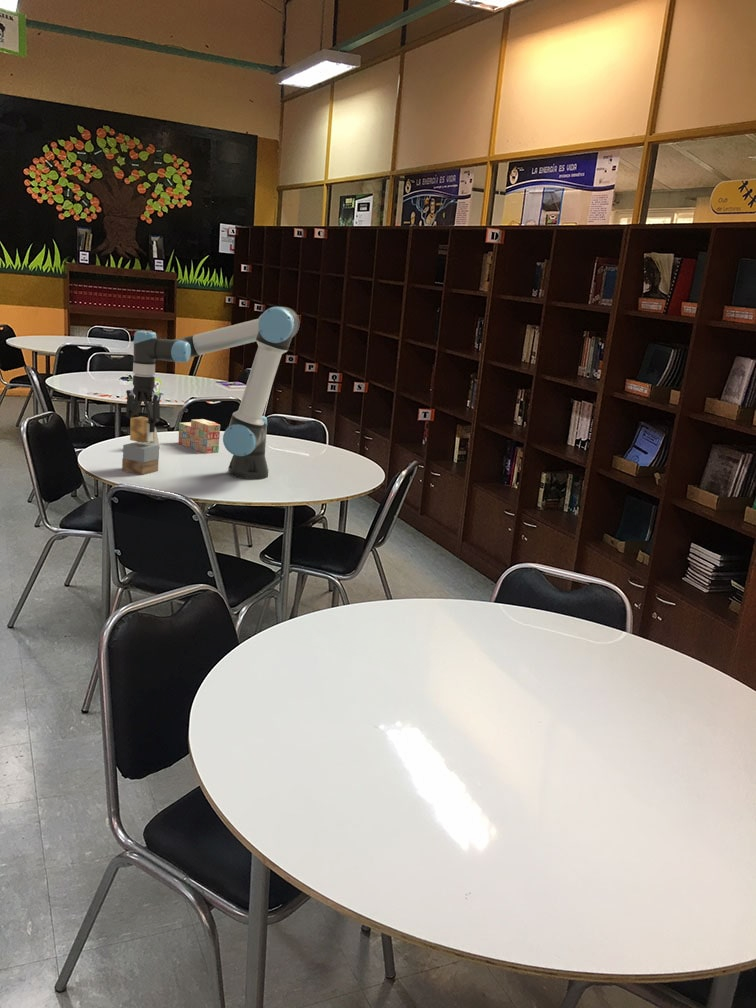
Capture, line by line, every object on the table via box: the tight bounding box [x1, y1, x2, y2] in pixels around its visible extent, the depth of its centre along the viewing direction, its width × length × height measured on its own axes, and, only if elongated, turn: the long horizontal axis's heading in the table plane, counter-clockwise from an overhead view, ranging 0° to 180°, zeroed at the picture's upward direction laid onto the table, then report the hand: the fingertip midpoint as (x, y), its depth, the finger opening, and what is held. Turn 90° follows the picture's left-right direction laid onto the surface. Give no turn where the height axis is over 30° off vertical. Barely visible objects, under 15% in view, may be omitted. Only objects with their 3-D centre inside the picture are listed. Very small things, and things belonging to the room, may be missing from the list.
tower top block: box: [122, 441, 160, 462], centre depth 301 cm, size 9×9×5 cm
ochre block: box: [129, 416, 155, 443], centre depth 299 cm, size 6×6×8 cm
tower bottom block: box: [121, 457, 160, 476], centre depth 302 cm, size 9×9×5 cm
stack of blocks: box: [177, 418, 221, 455], centre depth 350 cm, size 21×6×12 cm, turn 46°
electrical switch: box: [145, 427, 161, 450], centre depth 337 cm, size 9×5×9 cm, turn 152°
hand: (142, 439), depth 300 cm, fingers closed on ochre block, 6 cm apart
